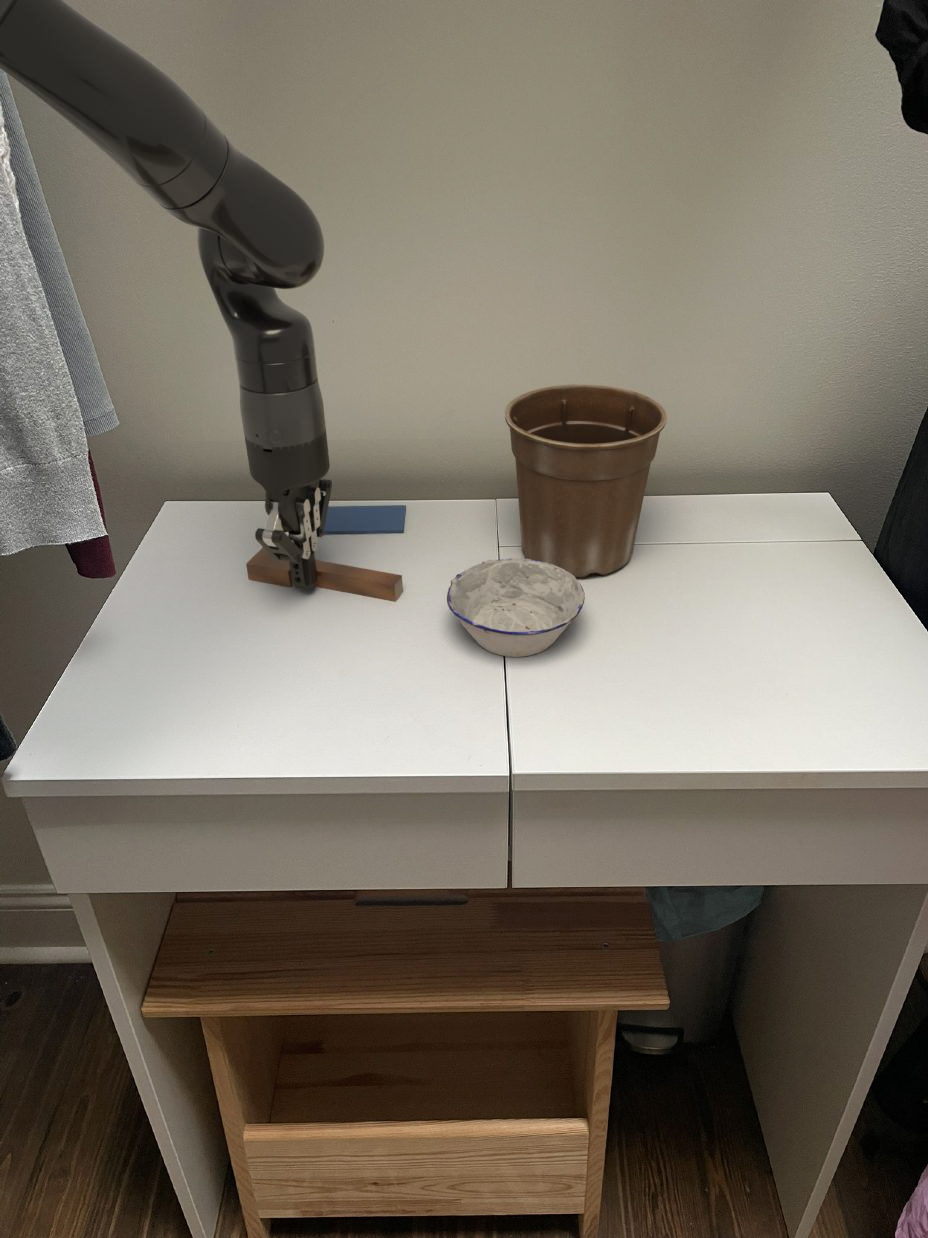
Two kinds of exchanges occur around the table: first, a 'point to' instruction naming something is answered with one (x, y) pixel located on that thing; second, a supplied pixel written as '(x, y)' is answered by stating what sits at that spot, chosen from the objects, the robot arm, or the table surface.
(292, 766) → the table surface
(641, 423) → the plant pot
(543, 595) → the bowl
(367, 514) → the cloth
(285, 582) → the wooden mallet
